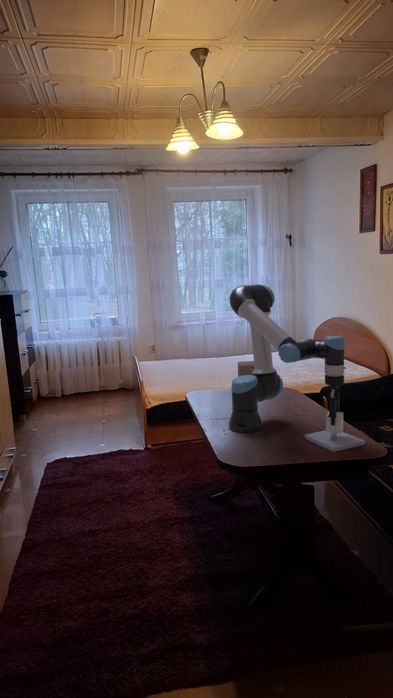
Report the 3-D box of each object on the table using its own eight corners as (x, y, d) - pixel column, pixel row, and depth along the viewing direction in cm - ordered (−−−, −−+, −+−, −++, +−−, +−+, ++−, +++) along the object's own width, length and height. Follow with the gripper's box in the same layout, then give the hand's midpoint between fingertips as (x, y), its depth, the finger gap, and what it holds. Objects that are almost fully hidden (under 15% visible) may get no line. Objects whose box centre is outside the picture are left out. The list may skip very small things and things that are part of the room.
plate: (333, 451, 177) (333, 434, 176) (304, 438, 193) (304, 422, 192) (365, 444, 184) (365, 427, 183) (334, 431, 200) (334, 416, 199)
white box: (341, 433, 184) (341, 415, 183) (326, 432, 186) (325, 414, 185) (343, 428, 189) (343, 411, 188) (328, 427, 192) (328, 410, 191)
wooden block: (255, 393, 271) (254, 360, 268) (257, 398, 261) (257, 363, 258) (238, 394, 271) (237, 361, 268) (240, 399, 261) (239, 364, 258)
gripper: (341, 379, 174) (341, 438, 178) (346, 370, 192) (346, 423, 195) (321, 378, 177) (321, 436, 181) (328, 369, 195) (328, 422, 198)
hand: (334, 429), depth 188 cm, fingers closed on white box, 6 cm apart
